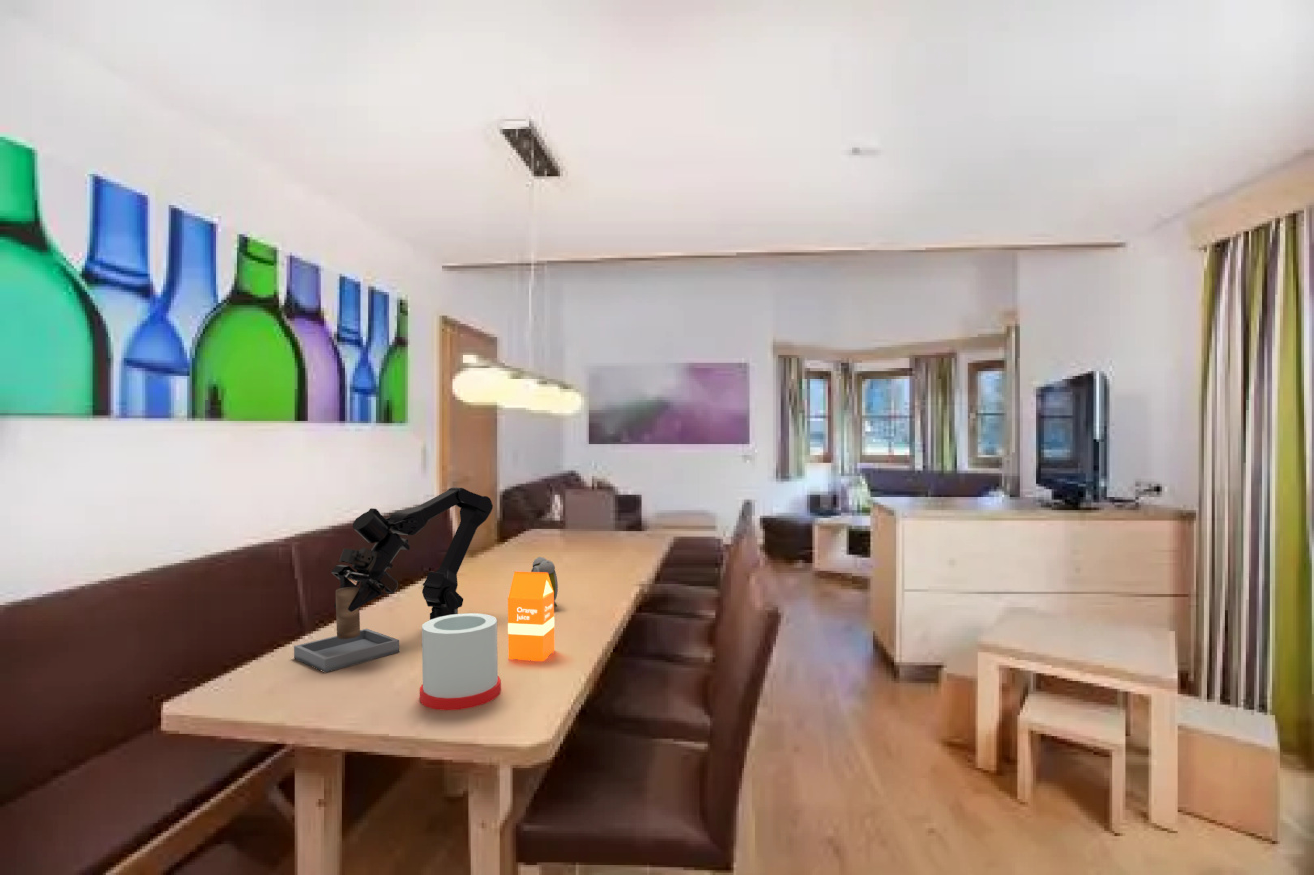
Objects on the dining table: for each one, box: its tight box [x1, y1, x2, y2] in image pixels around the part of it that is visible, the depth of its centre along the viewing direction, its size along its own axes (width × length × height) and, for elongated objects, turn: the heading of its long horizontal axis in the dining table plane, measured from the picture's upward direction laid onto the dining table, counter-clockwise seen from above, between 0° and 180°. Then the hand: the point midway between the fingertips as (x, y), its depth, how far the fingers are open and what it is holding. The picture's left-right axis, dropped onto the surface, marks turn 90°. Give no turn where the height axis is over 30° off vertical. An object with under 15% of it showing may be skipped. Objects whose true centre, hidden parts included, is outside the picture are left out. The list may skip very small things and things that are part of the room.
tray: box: [293, 628, 400, 673], centre depth 164 cm, size 18×16×3 cm
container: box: [419, 612, 502, 711], centre depth 138 cm, size 16×16×15 cm
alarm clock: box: [530, 556, 559, 607], centre depth 206 cm, size 12×7×15 cm, turn 28°
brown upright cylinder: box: [335, 586, 361, 639], centre depth 160 cm, size 5×5×11 cm
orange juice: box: [507, 571, 555, 662], centre depth 162 cm, size 8×9×20 cm
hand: (342, 609), depth 159 cm, fingers closed on brown upright cylinder, 5 cm apart
